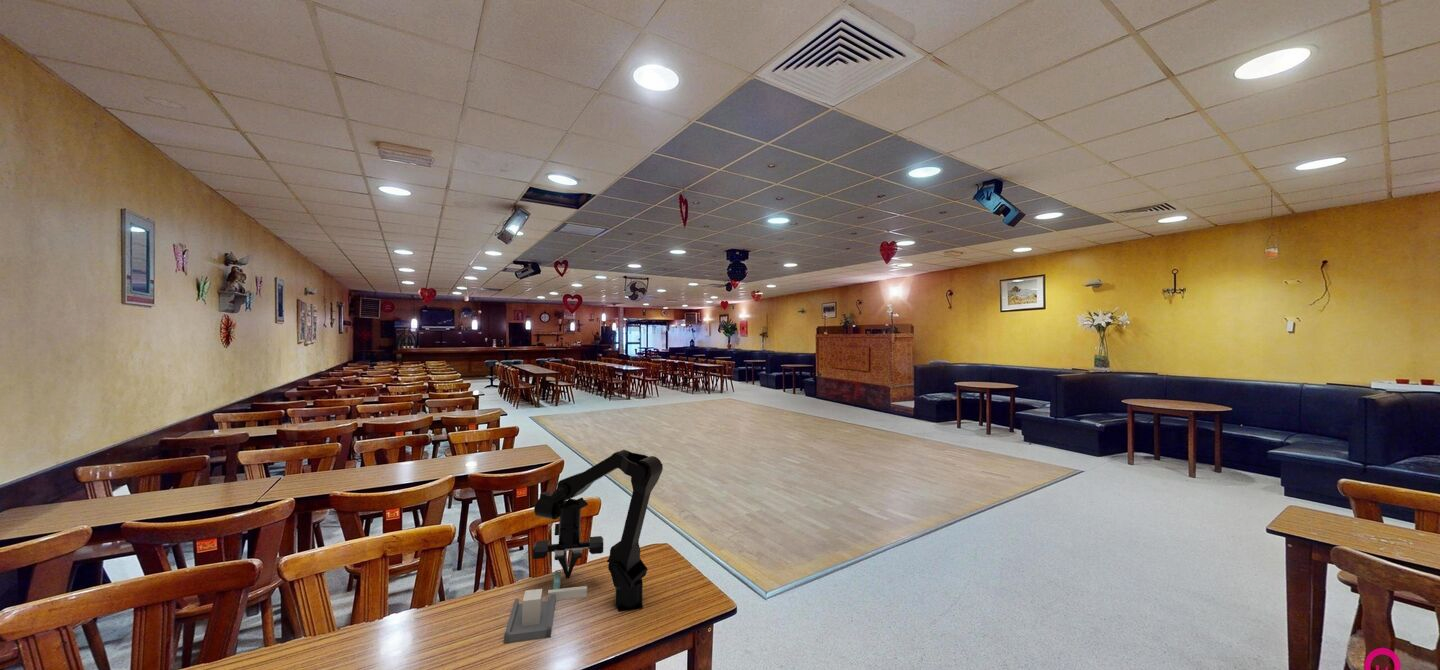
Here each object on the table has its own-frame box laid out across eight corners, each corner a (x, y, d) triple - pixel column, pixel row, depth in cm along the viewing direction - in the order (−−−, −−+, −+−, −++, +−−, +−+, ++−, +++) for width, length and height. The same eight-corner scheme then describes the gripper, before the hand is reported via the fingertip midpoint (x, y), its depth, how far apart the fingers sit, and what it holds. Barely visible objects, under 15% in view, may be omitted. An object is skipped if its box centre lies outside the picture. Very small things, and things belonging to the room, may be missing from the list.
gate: (587, 581, 135) (587, 567, 135) (586, 596, 127) (587, 581, 127) (550, 585, 132) (550, 571, 132) (547, 601, 124) (548, 586, 124)
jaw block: (541, 612, 118) (542, 588, 118) (539, 624, 113) (540, 599, 113) (524, 614, 117) (525, 590, 117) (521, 626, 112) (522, 601, 112)
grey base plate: (555, 601, 124) (555, 594, 124) (550, 638, 109) (550, 629, 109) (514, 606, 121) (515, 598, 122) (503, 644, 106) (504, 635, 106)
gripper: (603, 509, 141) (601, 562, 141) (537, 513, 137) (535, 567, 136) (604, 523, 131) (602, 579, 130) (533, 528, 126) (530, 587, 125)
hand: (567, 577), depth 131 cm, fingers closed
